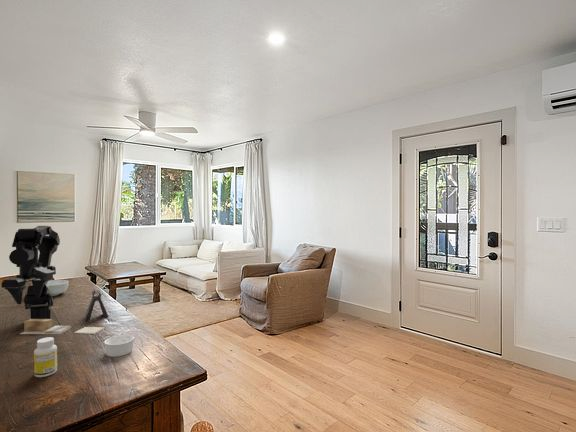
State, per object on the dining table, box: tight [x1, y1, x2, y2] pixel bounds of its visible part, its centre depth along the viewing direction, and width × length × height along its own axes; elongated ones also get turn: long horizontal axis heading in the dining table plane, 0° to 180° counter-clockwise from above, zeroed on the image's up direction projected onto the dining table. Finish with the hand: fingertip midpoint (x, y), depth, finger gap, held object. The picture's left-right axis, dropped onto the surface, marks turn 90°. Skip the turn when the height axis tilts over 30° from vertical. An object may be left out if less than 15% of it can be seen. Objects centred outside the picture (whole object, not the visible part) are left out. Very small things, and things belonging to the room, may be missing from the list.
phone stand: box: [84, 289, 109, 322], centre depth 143 cm, size 9×6×12 cm, turn 123°
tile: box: [74, 326, 105, 335], centre depth 126 cm, size 2×6×8 cm
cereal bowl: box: [47, 279, 70, 297], centre depth 181 cm, size 17×17×7 cm
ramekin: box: [104, 334, 135, 358], centre depth 109 cm, size 9×9×4 cm
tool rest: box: [19, 326, 72, 335], centre depth 126 cm, size 15×7×1 cm, turn 91°
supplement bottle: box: [33, 336, 58, 378], centre depth 94 cm, size 5×5×10 cm
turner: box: [23, 318, 72, 334], centre depth 126 cm, size 15×6×4 cm, turn 91°
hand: (29, 300), depth 126 cm, fingers open, 9 cm apart
